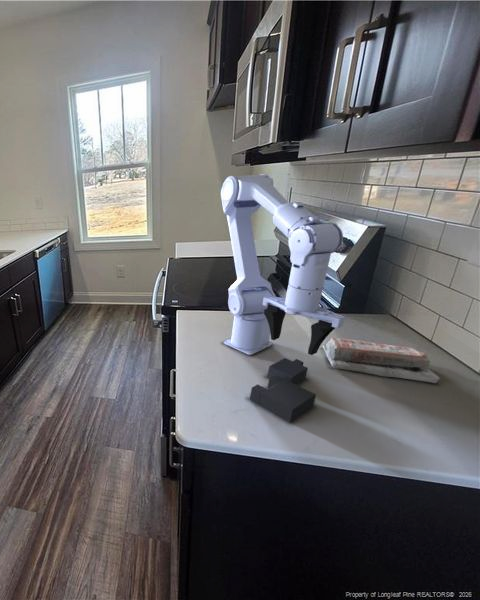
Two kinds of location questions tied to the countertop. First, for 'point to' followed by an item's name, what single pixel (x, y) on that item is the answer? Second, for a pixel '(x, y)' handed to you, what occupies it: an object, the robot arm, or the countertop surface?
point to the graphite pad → (289, 370)
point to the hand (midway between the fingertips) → (292, 345)
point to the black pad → (283, 398)
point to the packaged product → (379, 359)
